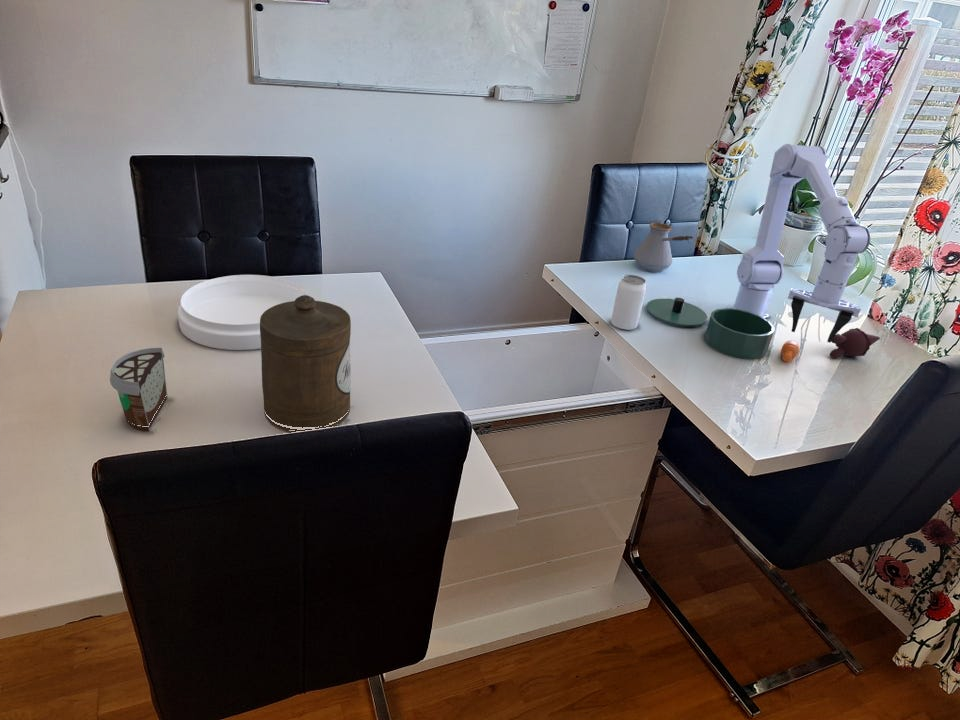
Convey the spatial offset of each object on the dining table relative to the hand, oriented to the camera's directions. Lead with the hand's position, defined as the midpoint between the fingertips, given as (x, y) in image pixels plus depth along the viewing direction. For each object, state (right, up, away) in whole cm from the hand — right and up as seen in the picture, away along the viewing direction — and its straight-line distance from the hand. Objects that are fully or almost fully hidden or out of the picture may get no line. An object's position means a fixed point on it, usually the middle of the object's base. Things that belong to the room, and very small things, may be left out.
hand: (811, 335), depth 151 cm
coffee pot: (-22, +20, +45) cm, 54 cm away
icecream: (+14, -4, +10) cm, 18 cm away
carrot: (-2, -4, +3) cm, 5 cm away
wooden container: (-106, -15, -32) cm, 112 cm away
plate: (-126, +3, -6) cm, 126 cm away
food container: (-133, -15, -39) cm, 139 cm away
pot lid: (-25, +6, +20) cm, 32 cm away
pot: (-14, -2, +8) cm, 17 cm away
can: (-40, +3, +12) cm, 42 cm away
